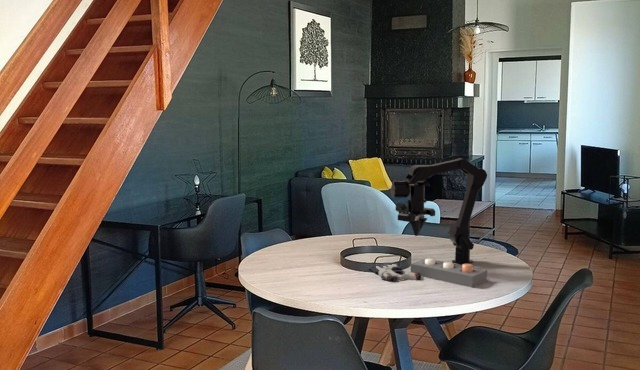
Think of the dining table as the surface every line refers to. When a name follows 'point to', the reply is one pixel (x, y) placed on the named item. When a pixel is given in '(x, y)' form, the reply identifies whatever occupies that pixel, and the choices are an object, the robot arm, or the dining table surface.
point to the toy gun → (394, 273)
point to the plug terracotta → (467, 268)
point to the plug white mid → (448, 265)
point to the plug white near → (430, 261)
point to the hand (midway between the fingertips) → (416, 235)
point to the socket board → (449, 273)
